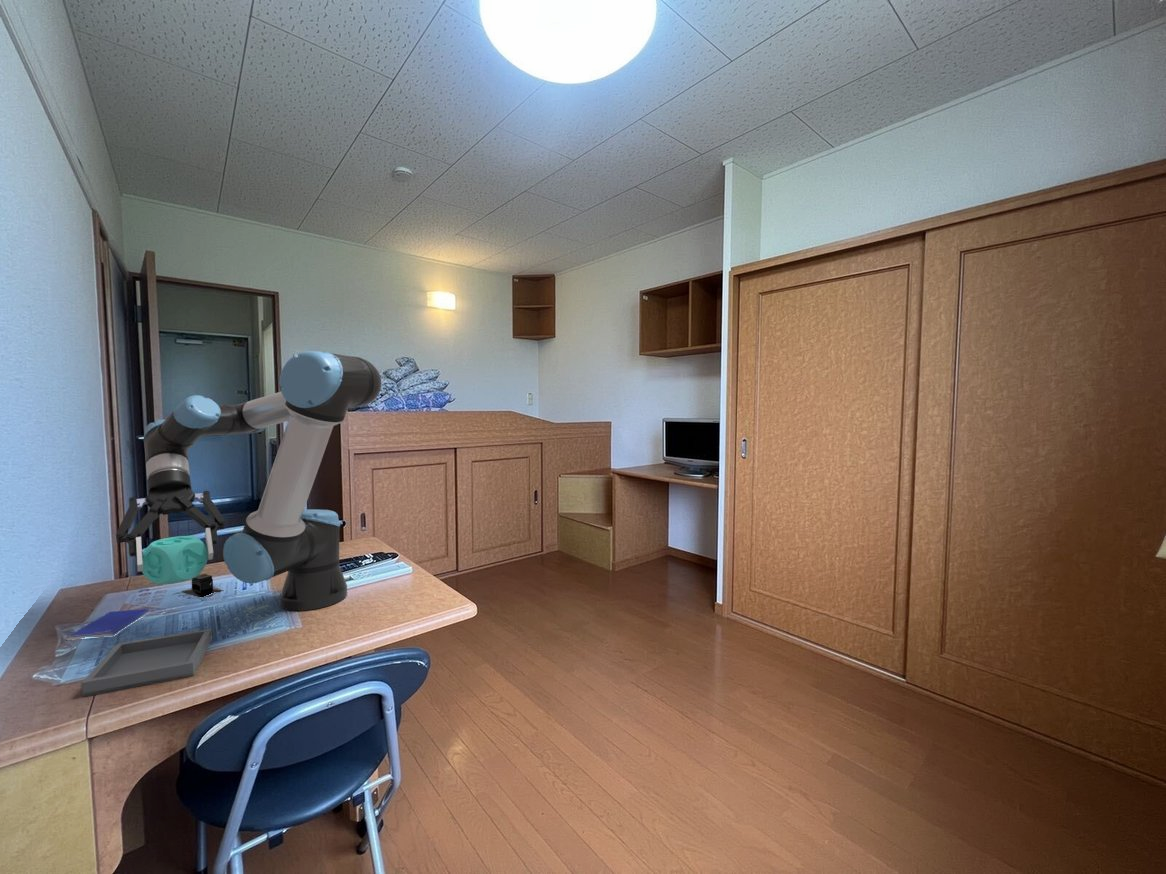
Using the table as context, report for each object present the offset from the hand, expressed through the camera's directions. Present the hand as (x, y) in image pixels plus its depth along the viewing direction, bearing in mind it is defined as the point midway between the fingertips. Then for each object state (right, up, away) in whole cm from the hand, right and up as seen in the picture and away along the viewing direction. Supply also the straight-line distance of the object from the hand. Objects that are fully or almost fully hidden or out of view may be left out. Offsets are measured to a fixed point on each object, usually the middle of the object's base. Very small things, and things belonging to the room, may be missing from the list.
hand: (176, 562), depth 101 cm
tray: (+3, -17, -9) cm, 20 cm away
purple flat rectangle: (-21, -17, +7) cm, 27 cm away
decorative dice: (-2, -4, +2) cm, 5 cm away
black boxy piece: (-16, -15, +27) cm, 35 cm away
